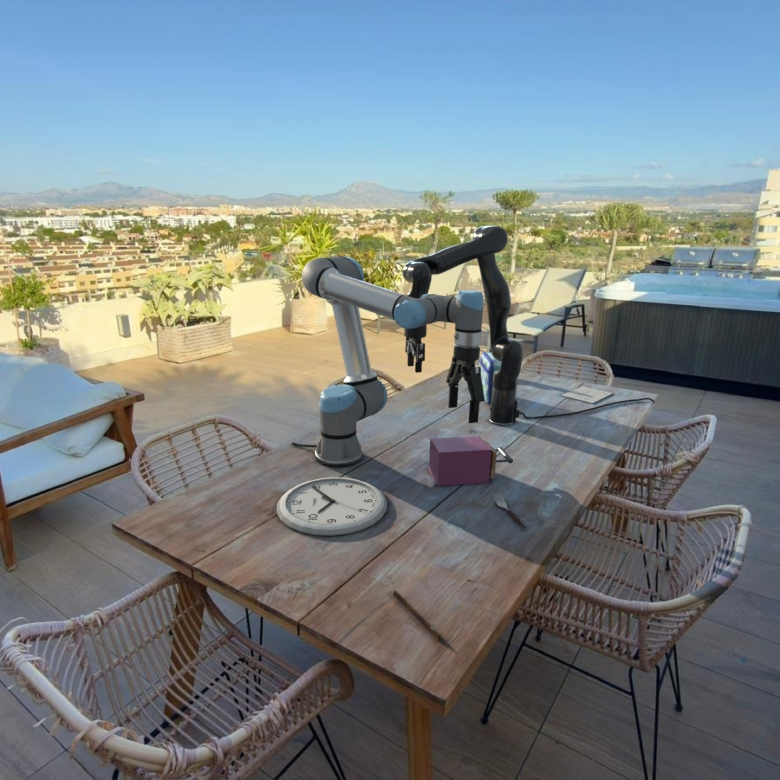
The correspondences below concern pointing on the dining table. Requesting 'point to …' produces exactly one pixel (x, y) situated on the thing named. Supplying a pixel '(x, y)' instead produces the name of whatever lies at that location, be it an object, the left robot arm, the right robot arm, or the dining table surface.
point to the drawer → (493, 458)
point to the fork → (504, 505)
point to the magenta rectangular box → (459, 460)
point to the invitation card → (587, 394)
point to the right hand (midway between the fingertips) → (414, 369)
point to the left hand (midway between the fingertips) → (462, 414)
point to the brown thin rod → (416, 614)
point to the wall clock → (331, 506)
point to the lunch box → (488, 373)
